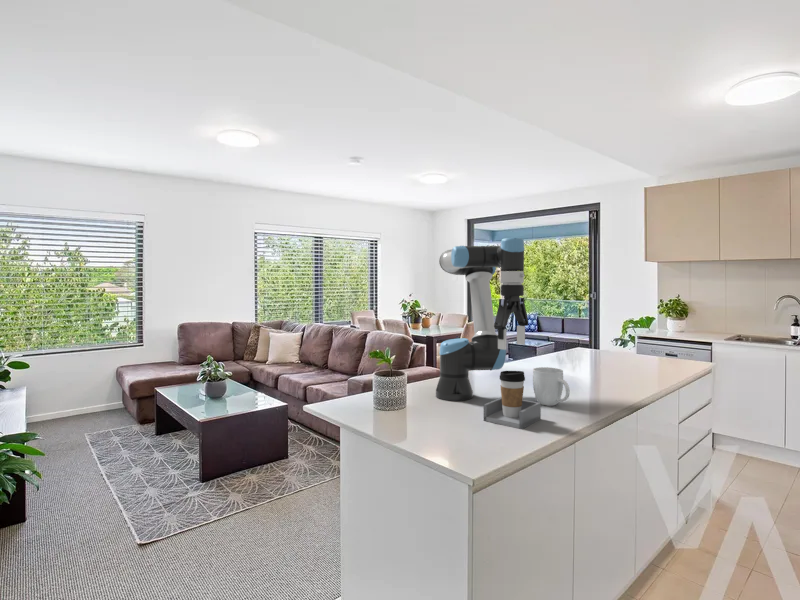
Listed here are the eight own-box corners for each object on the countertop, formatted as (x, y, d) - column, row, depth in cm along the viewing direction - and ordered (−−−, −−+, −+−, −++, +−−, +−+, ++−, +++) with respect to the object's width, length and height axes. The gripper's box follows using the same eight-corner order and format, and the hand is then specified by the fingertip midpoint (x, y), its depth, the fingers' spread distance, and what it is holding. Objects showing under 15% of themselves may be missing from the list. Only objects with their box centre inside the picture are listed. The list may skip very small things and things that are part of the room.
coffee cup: (520, 420, 150) (520, 375, 149) (495, 416, 154) (495, 372, 154) (527, 414, 157) (528, 370, 156) (504, 410, 161) (504, 368, 161)
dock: (483, 420, 155) (483, 404, 155) (503, 411, 166) (503, 396, 165) (522, 429, 146) (522, 412, 146) (540, 418, 156) (540, 403, 156)
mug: (577, 406, 171) (578, 372, 170) (559, 411, 165) (559, 375, 164) (545, 398, 183) (545, 366, 183) (526, 402, 177) (526, 369, 177)
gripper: (504, 284, 143) (504, 352, 144) (538, 283, 161) (537, 343, 163) (483, 284, 147) (483, 350, 149) (518, 283, 166) (518, 341, 167)
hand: (511, 346), depth 156 cm, fingers open, 13 cm apart
